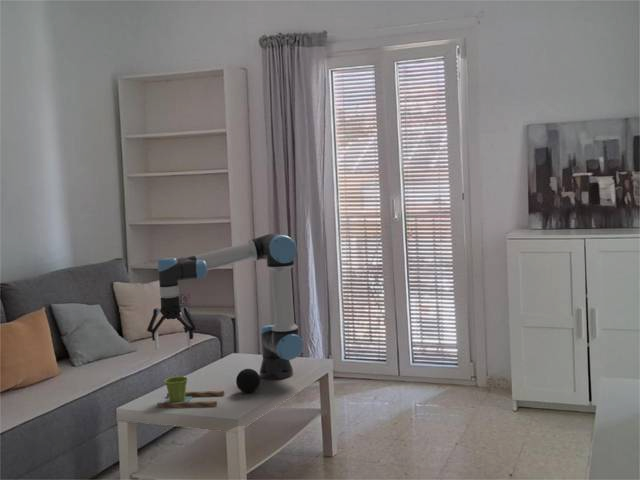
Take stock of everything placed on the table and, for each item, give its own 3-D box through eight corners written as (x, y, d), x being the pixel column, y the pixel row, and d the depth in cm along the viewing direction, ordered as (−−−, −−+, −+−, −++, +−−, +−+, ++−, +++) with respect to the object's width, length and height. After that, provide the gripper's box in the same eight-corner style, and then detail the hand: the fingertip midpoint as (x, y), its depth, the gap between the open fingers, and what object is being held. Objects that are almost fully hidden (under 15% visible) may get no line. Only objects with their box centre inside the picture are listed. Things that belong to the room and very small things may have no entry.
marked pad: (192, 397, 306) (192, 396, 306) (185, 404, 296) (185, 403, 296) (168, 397, 307) (168, 397, 307) (161, 405, 297) (161, 404, 297)
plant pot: (161, 401, 302) (159, 380, 301) (180, 395, 308) (179, 375, 307) (174, 405, 295) (172, 384, 294) (193, 399, 302) (192, 378, 301)
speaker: (265, 390, 311) (264, 367, 310) (251, 397, 302) (249, 373, 301) (246, 387, 316) (245, 365, 315) (232, 394, 308) (230, 370, 307)
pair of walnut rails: (224, 394, 308) (224, 390, 308) (215, 406, 292) (215, 402, 292) (168, 395, 310) (168, 392, 310) (157, 407, 294) (156, 404, 294)
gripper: (202, 293, 301) (205, 344, 302) (142, 296, 303) (146, 346, 305) (197, 296, 293) (201, 348, 295) (136, 299, 295) (140, 350, 297)
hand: (173, 347), depth 300 cm, fingers open, 13 cm apart
